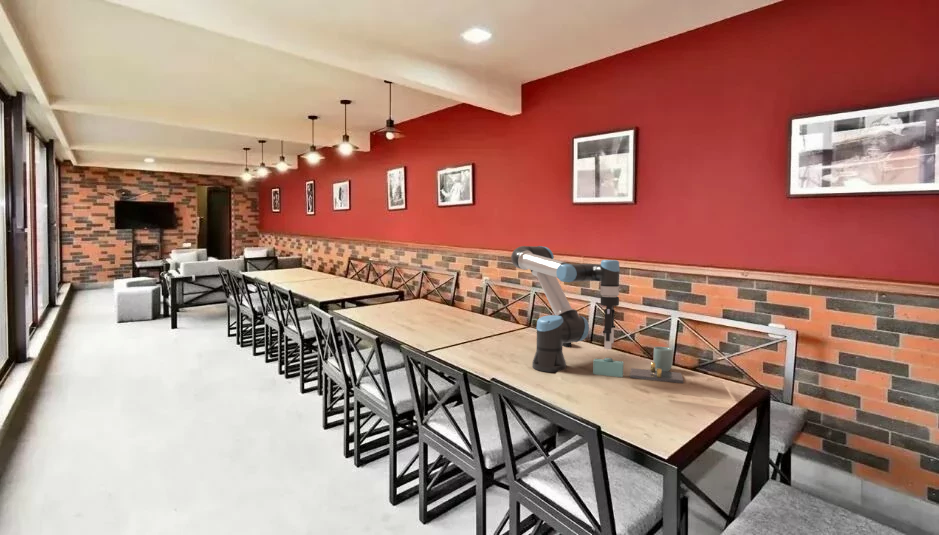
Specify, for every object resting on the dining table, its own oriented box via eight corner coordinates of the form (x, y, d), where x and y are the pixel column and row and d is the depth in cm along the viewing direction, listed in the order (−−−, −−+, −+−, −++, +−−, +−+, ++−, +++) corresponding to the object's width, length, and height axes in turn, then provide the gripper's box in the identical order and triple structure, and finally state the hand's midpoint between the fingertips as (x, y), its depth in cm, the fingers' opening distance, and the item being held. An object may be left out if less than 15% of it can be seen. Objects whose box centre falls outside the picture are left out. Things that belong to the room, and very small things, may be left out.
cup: (674, 373, 195) (674, 350, 195) (655, 372, 197) (655, 349, 196) (669, 369, 203) (670, 347, 202) (651, 368, 204) (652, 346, 204)
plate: (630, 377, 188) (630, 366, 188) (631, 370, 199) (631, 360, 199) (683, 383, 181) (683, 371, 180) (680, 375, 192) (681, 364, 192)
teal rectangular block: (593, 374, 193) (593, 358, 193) (594, 372, 197) (594, 356, 197) (622, 377, 188) (622, 361, 188) (623, 375, 192) (623, 359, 192)
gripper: (617, 299, 178) (616, 352, 179) (620, 294, 202) (619, 341, 202) (597, 298, 181) (597, 350, 182) (603, 293, 204) (602, 340, 205)
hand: (609, 345), depth 192 cm, fingers open, 13 cm apart
